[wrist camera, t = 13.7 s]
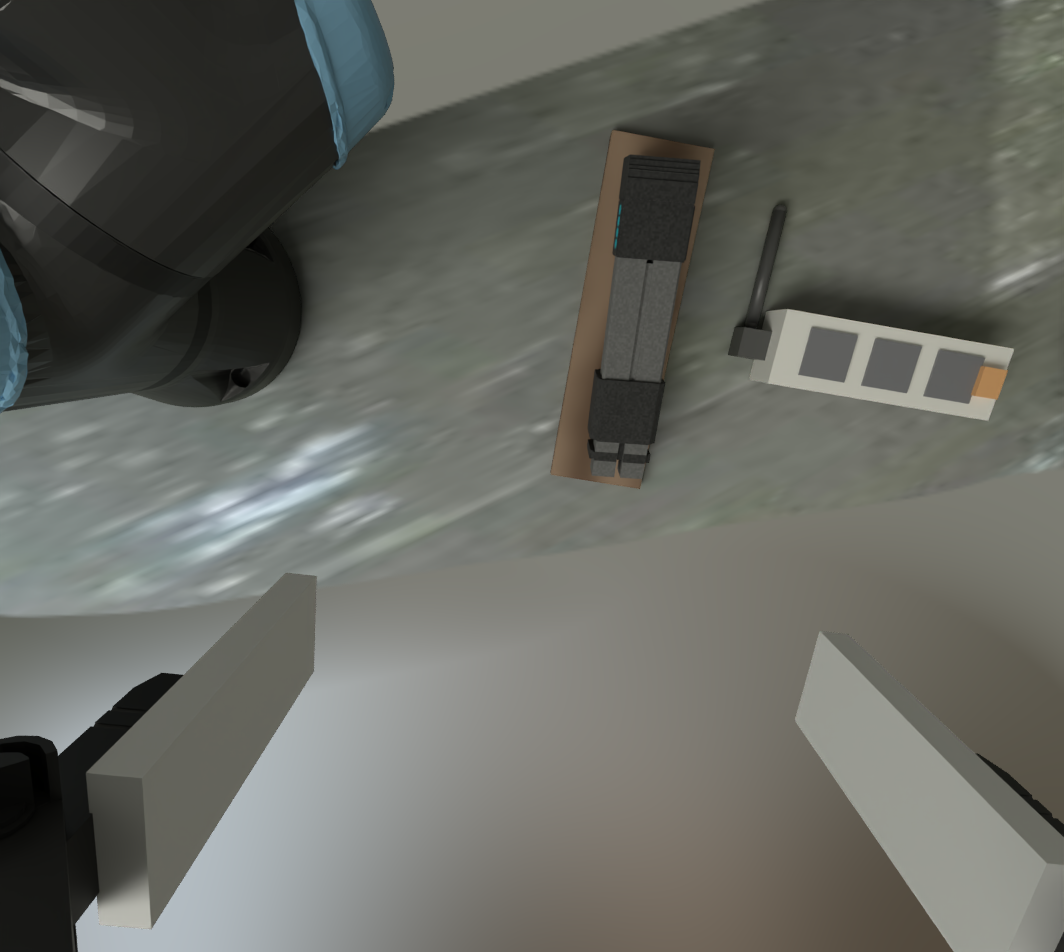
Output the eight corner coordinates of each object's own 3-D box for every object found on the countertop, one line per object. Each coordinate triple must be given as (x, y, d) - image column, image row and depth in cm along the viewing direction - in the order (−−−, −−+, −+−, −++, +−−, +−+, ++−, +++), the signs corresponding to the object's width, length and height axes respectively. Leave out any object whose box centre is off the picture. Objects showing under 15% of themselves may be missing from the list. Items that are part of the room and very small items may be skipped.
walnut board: (550, 472, 44) (550, 474, 43) (610, 133, 38) (612, 129, 37) (638, 486, 44) (639, 488, 43) (711, 152, 38) (714, 148, 38)
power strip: (722, 375, 42) (742, 379, 38) (764, 203, 39) (791, 188, 35) (951, 414, 43) (994, 422, 39) (1009, 248, 40) (1062, 238, 36)
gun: (680, 151, 37) (719, 165, 29) (630, 416, 48) (647, 482, 40) (613, 146, 37) (632, 158, 29) (578, 413, 48) (585, 477, 40)
